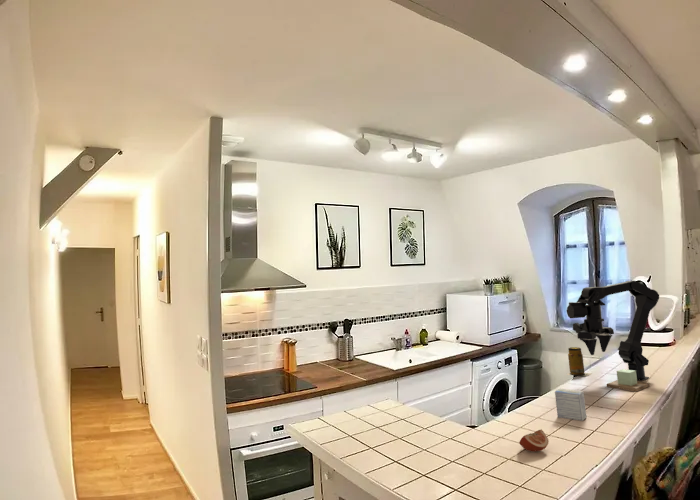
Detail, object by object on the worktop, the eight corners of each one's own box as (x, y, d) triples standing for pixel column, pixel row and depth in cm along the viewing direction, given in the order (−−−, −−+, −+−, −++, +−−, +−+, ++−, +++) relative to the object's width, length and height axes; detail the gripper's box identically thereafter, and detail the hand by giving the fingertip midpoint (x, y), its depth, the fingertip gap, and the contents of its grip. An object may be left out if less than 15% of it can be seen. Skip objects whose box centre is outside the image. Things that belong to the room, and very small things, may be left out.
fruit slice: (533, 443, 125) (531, 425, 125) (555, 450, 119) (553, 431, 120) (515, 451, 120) (513, 433, 121) (537, 458, 115) (534, 439, 115)
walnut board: (620, 381, 182) (619, 379, 182) (649, 386, 173) (649, 383, 173) (606, 387, 176) (606, 384, 176) (636, 391, 167) (635, 388, 167)
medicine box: (587, 417, 143) (583, 390, 143) (583, 421, 140) (579, 393, 140) (561, 414, 148) (558, 388, 149) (557, 417, 145) (554, 391, 146)
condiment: (573, 371, 206) (570, 346, 207) (592, 373, 200) (589, 347, 200) (566, 374, 201) (563, 348, 202) (585, 377, 195) (582, 349, 196)
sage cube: (624, 381, 178) (622, 369, 179) (637, 383, 174) (635, 370, 175) (618, 383, 176) (616, 371, 176) (631, 385, 171) (629, 372, 172)
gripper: (586, 314, 198) (590, 348, 197) (563, 318, 188) (567, 354, 187) (612, 314, 189) (616, 350, 188) (589, 319, 179) (593, 357, 178)
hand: (598, 353), depth 185 cm, fingers open, 9 cm apart
